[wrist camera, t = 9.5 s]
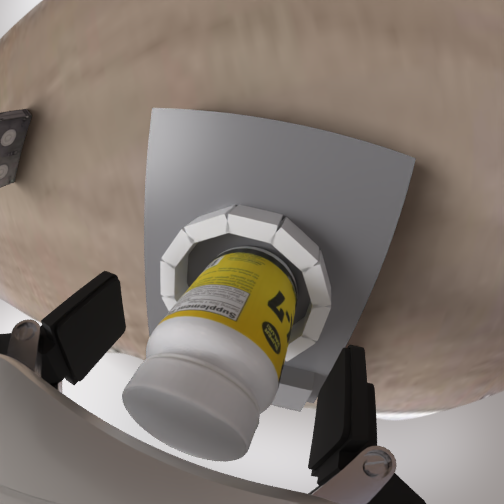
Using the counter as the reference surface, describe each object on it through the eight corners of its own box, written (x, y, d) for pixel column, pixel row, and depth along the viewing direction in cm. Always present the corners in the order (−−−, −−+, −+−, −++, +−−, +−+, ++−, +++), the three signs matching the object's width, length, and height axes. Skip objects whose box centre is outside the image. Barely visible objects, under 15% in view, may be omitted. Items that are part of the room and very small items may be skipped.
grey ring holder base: (395, 152, 13) (428, 162, 8) (317, 367, 20) (311, 420, 15) (185, 110, 14) (133, 107, 10) (172, 324, 22) (141, 365, 17)
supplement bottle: (298, 328, 14) (264, 477, 7) (214, 320, 15) (142, 443, 8) (299, 243, 12) (255, 403, 5) (201, 241, 14) (85, 357, 6)
